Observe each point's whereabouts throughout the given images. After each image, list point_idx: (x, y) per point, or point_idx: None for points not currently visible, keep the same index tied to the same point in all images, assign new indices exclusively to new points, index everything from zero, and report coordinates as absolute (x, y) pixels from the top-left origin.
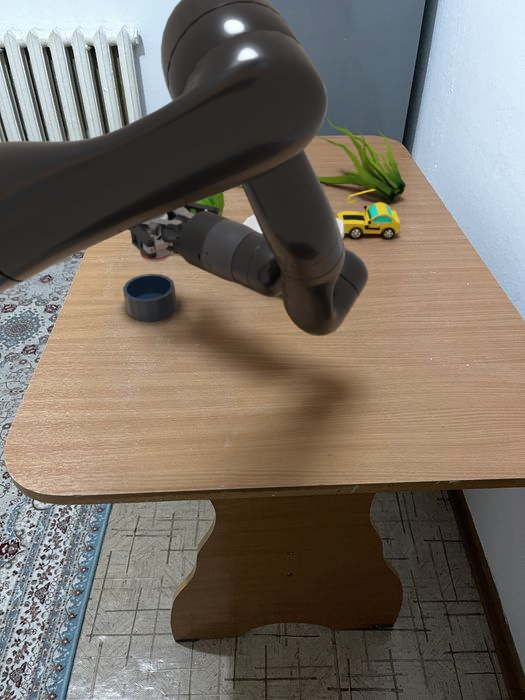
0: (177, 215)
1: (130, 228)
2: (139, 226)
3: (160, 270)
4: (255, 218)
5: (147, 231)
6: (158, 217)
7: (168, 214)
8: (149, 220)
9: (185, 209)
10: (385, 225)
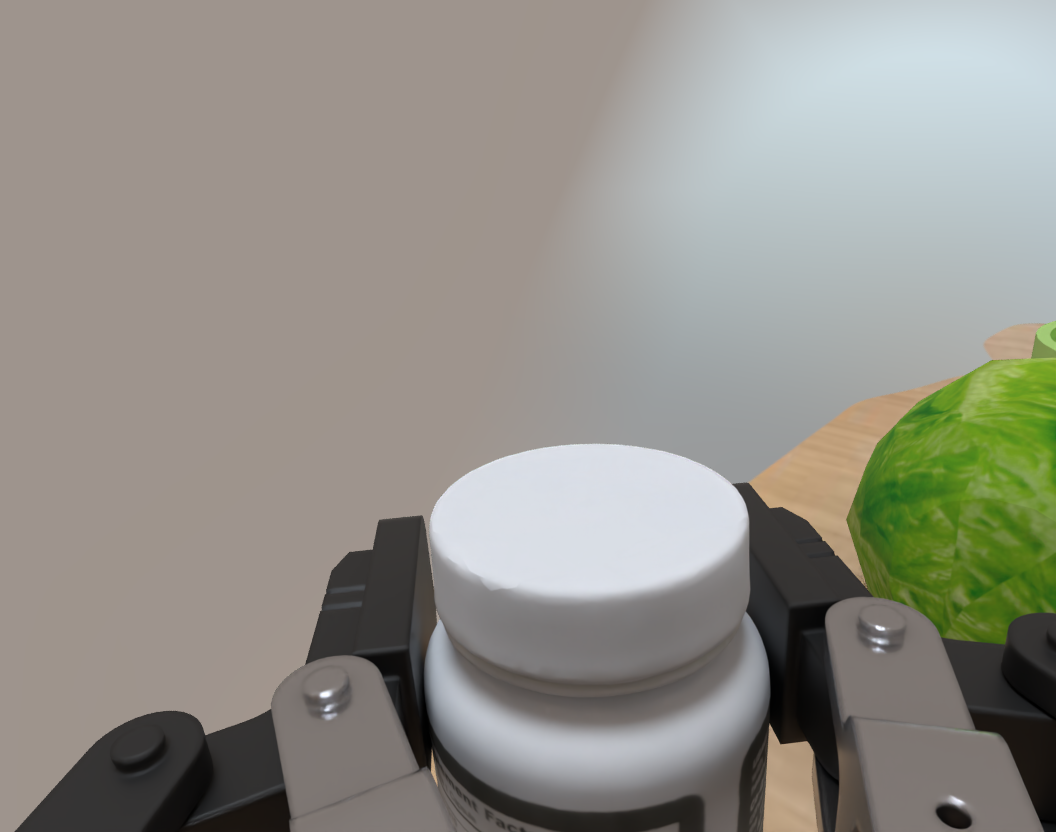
0: (848, 815)
1: (75, 765)
2: (268, 756)
3: (810, 804)
4: None
5: (452, 796)
6: (599, 709)
7: (791, 682)
8: (401, 737)
9: (1016, 821)
10: None
